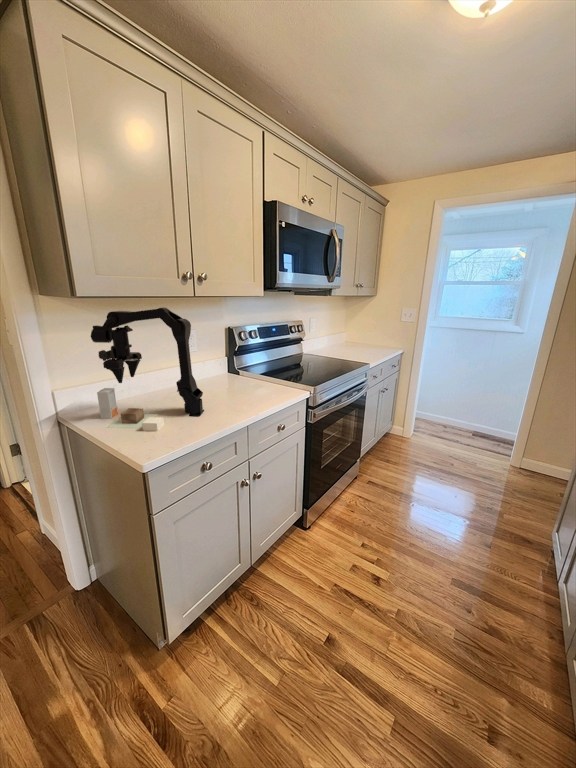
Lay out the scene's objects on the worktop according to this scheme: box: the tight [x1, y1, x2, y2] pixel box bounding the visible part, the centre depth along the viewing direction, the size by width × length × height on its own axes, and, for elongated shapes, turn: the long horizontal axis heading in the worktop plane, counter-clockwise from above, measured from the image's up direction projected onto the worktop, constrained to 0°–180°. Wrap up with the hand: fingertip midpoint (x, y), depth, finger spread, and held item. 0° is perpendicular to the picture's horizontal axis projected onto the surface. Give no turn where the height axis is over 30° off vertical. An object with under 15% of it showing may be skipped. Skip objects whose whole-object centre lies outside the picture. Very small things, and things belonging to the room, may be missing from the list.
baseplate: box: [106, 413, 159, 429], centre depth 125 cm, size 14×14×1 cm
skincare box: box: [96, 387, 119, 420], centre depth 128 cm, size 6×4×12 cm
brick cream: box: [142, 416, 165, 432], centre depth 119 cm, size 6×6×4 cm
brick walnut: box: [120, 407, 145, 424], centre depth 125 cm, size 6×6×4 cm
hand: (126, 379), depth 132 cm, fingers open, 9 cm apart
